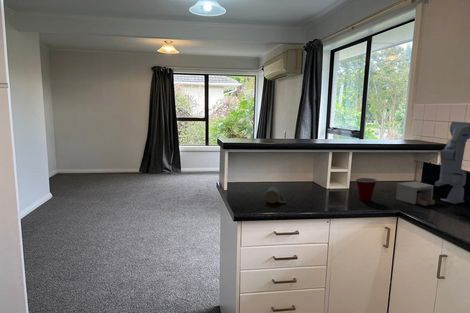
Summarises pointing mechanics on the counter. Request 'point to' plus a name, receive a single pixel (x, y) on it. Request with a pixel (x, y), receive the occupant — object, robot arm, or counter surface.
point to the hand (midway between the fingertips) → (443, 198)
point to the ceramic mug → (274, 195)
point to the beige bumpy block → (423, 198)
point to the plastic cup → (365, 188)
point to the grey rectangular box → (412, 191)
